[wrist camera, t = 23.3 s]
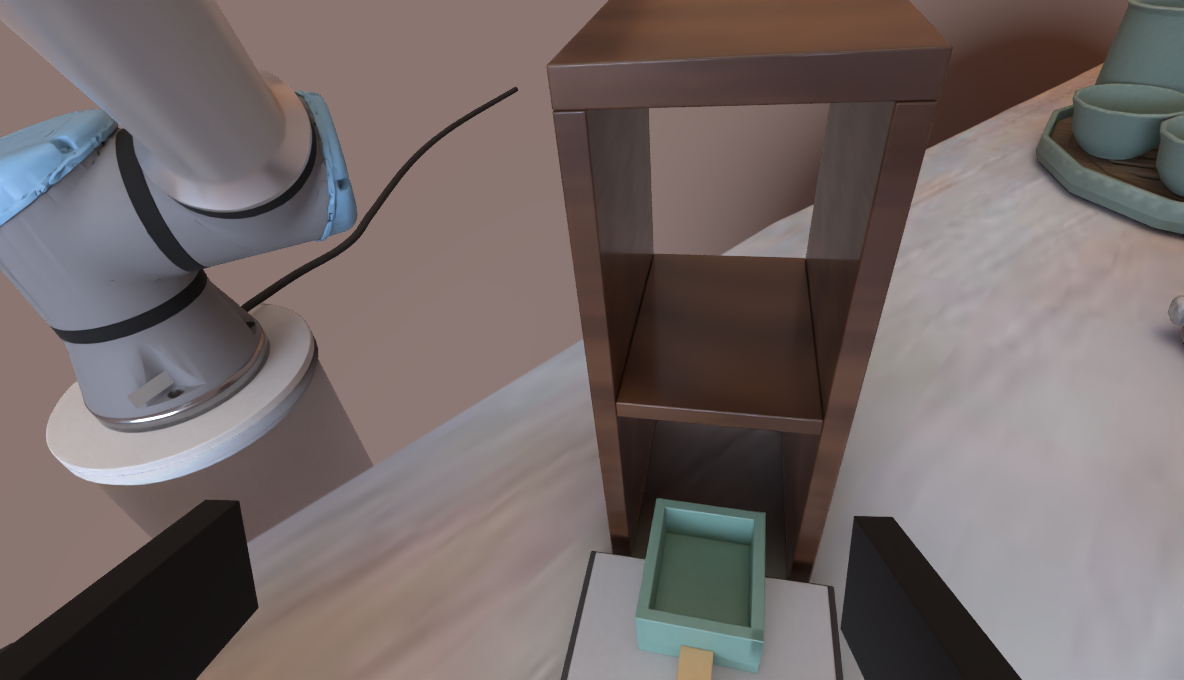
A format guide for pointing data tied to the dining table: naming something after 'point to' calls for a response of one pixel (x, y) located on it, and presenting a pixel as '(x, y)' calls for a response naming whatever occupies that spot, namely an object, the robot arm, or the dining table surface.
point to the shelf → (739, 283)
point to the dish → (1177, 312)
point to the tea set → (1129, 122)
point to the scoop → (703, 588)
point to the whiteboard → (631, 676)
